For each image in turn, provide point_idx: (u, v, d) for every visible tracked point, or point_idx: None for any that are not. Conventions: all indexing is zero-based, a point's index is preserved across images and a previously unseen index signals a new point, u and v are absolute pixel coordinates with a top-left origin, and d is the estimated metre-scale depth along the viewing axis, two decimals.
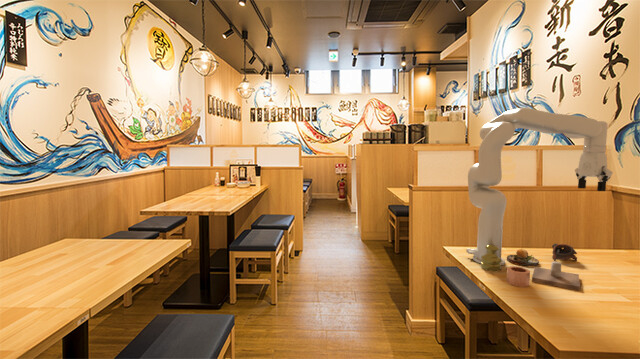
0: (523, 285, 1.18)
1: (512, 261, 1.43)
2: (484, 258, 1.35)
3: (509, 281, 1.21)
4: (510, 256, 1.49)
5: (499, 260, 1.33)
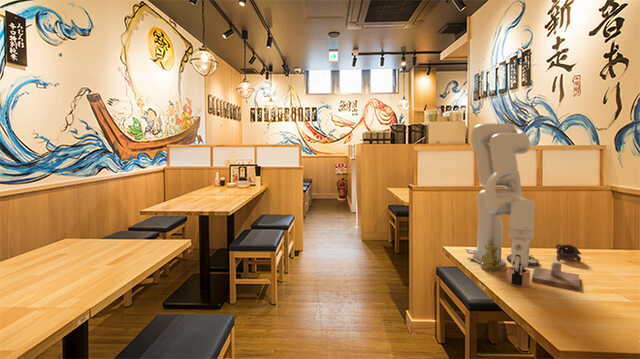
0: (523, 285, 1.18)
1: None
2: (484, 258, 1.35)
3: (509, 281, 1.21)
4: (510, 256, 1.49)
5: (499, 260, 1.33)
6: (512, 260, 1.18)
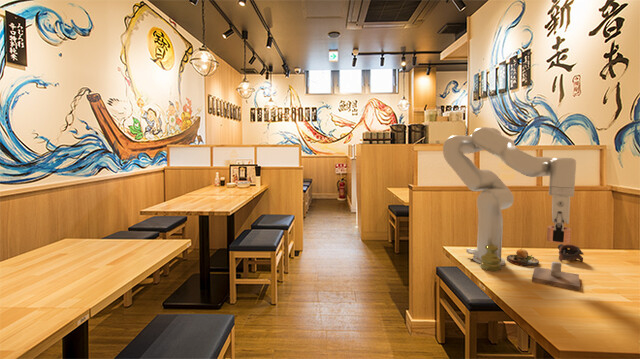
0: (565, 242, 1.20)
1: (512, 261, 1.43)
2: (483, 258, 1.35)
3: (550, 239, 1.23)
4: (510, 256, 1.49)
5: (498, 260, 1.33)
6: (553, 217, 1.20)
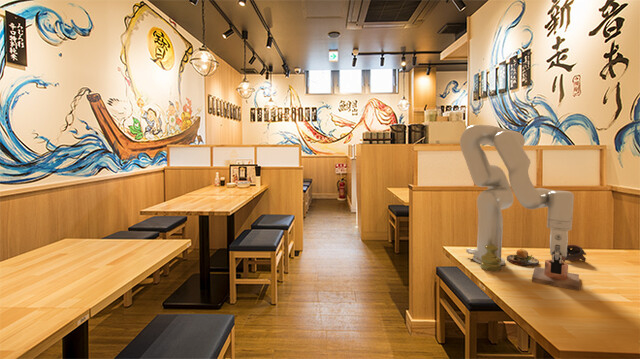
0: (562, 278, 1.21)
1: (512, 261, 1.43)
2: (483, 258, 1.35)
3: (547, 274, 1.24)
4: (510, 256, 1.49)
5: (498, 260, 1.33)
6: (551, 250, 1.21)
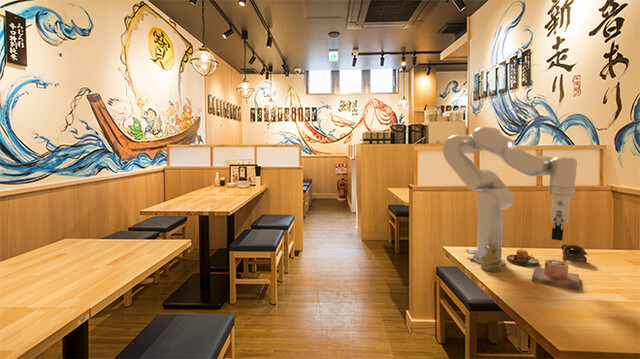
0: (562, 278, 1.21)
1: (512, 261, 1.43)
2: (484, 258, 1.35)
3: (547, 274, 1.24)
4: (510, 256, 1.49)
5: (499, 260, 1.33)
6: (553, 216, 1.20)
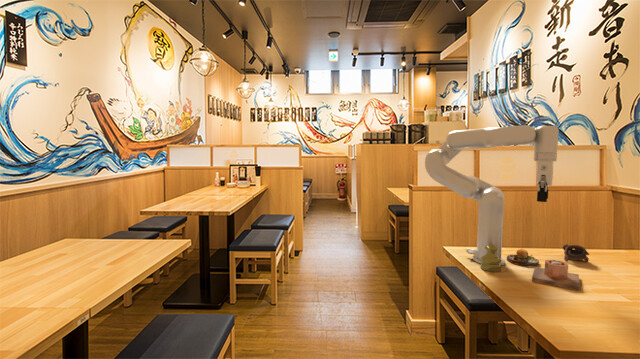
0: (562, 278, 1.21)
1: (512, 261, 1.43)
2: (483, 258, 1.35)
3: (547, 274, 1.24)
4: (510, 256, 1.49)
5: (499, 260, 1.33)
6: (538, 180, 1.30)
